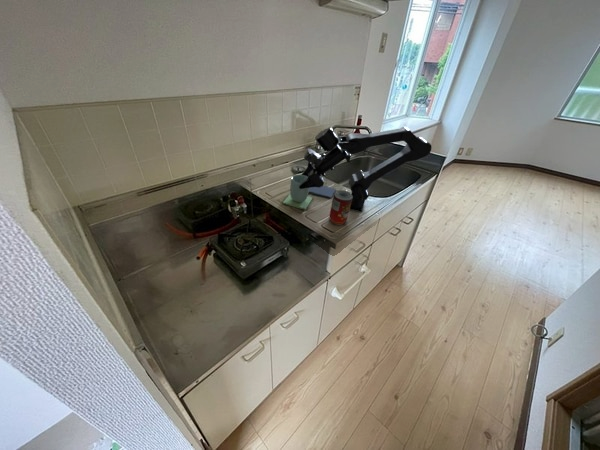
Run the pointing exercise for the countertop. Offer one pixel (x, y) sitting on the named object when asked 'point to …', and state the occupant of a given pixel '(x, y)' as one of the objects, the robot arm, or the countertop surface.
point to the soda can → (340, 207)
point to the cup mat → (300, 205)
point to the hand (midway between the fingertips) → (299, 182)
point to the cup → (295, 191)
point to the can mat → (322, 191)
